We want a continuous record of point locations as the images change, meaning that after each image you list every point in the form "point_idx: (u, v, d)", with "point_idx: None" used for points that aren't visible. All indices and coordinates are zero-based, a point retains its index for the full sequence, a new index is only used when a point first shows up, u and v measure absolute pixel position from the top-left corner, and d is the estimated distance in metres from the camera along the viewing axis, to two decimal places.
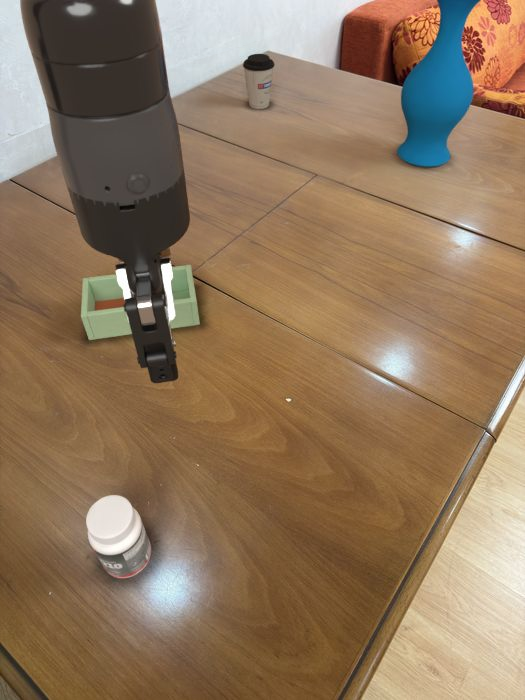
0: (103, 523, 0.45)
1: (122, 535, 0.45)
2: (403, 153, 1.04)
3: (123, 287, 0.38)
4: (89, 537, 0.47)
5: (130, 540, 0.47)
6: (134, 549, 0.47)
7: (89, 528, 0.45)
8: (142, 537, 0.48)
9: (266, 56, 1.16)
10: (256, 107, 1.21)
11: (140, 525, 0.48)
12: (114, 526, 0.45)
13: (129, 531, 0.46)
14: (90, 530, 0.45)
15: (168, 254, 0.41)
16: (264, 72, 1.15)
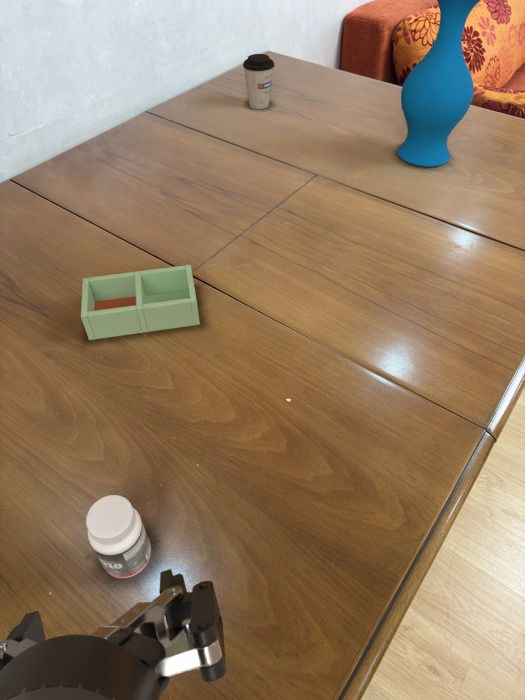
0: (103, 523, 0.45)
1: (122, 535, 0.45)
2: (403, 153, 1.04)
3: None
4: (89, 537, 0.47)
5: (130, 540, 0.47)
6: (134, 549, 0.47)
7: (89, 528, 0.45)
8: (142, 537, 0.48)
9: (266, 56, 1.16)
10: (256, 107, 1.21)
11: (140, 525, 0.48)
12: (114, 526, 0.45)
13: (129, 531, 0.46)
14: (90, 530, 0.45)
15: None
16: (264, 72, 1.15)
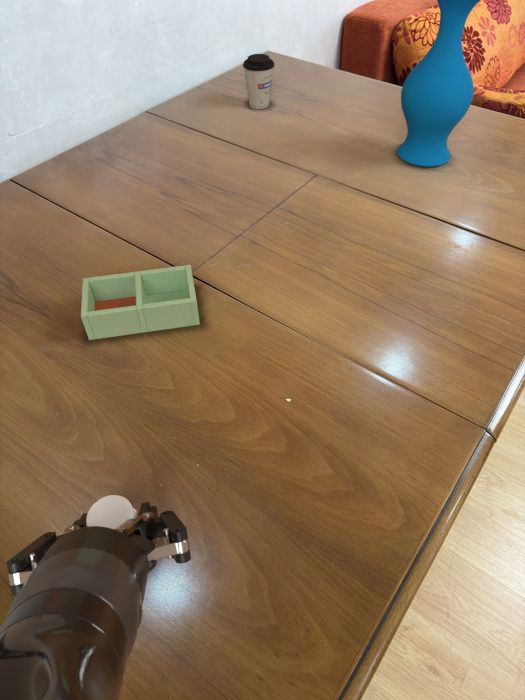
0: (103, 523, 0.45)
1: None
2: (403, 153, 1.04)
3: None
4: None
5: None
6: None
7: None
8: None
9: (266, 56, 1.16)
10: (256, 107, 1.21)
11: None
12: (114, 526, 0.45)
13: None
14: None
15: None
16: (264, 72, 1.15)
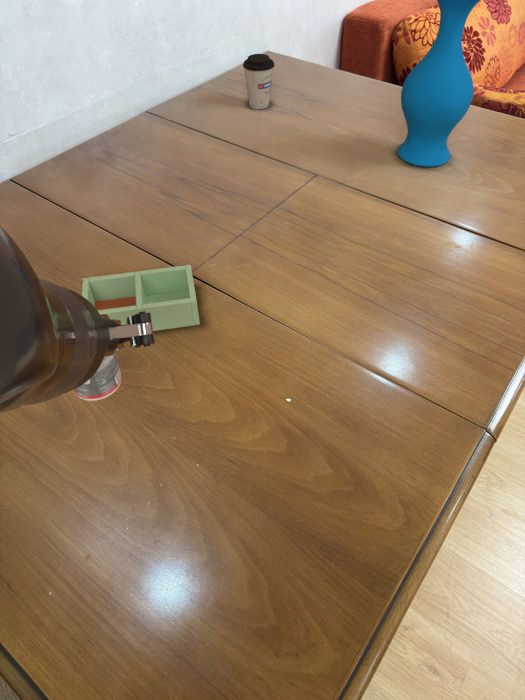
0: None
1: None
2: (403, 153, 1.04)
3: None
4: None
5: None
6: None
7: None
8: None
9: (266, 56, 1.16)
10: (256, 107, 1.21)
11: None
12: None
13: None
14: None
15: None
16: (264, 72, 1.15)
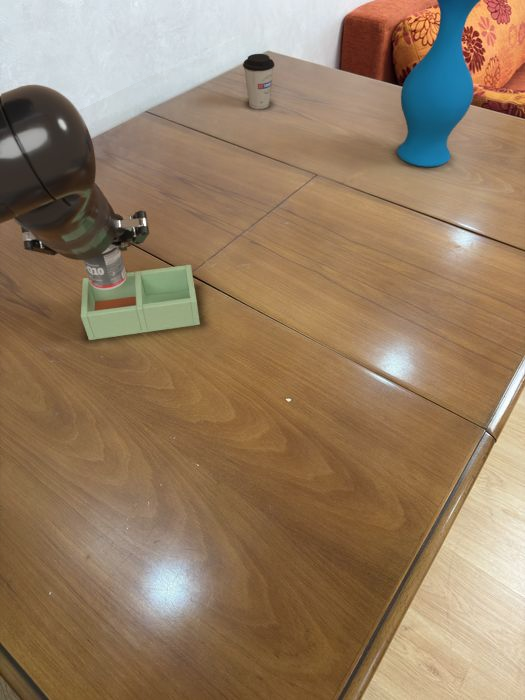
0: None
1: None
2: (403, 153, 1.04)
3: None
4: None
5: None
6: (112, 256, 0.65)
7: None
8: (118, 251, 0.66)
9: (266, 56, 1.16)
10: (256, 107, 1.21)
11: None
12: None
13: None
14: None
15: None
16: (264, 72, 1.15)
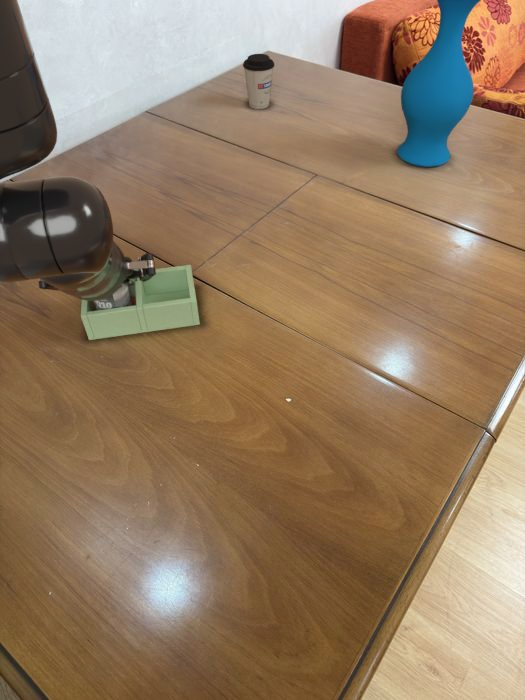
0: None
1: None
2: (403, 153, 1.04)
3: None
4: None
5: None
6: (120, 291, 0.70)
7: None
8: (125, 286, 0.70)
9: (266, 56, 1.16)
10: (256, 107, 1.21)
11: None
12: None
13: None
14: None
15: None
16: (264, 72, 1.15)
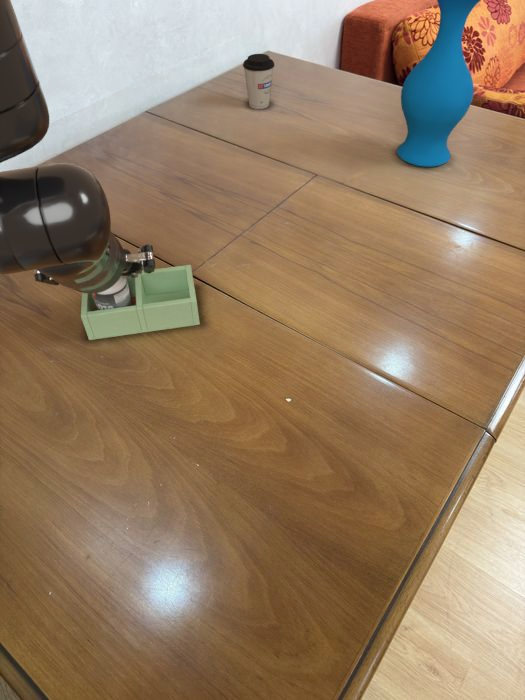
0: None
1: None
2: (403, 153, 1.04)
3: None
4: None
5: (119, 285, 0.69)
6: (121, 295, 0.70)
7: None
8: (127, 290, 0.71)
9: (266, 56, 1.16)
10: (256, 107, 1.21)
11: (125, 279, 0.70)
12: None
13: None
14: None
15: None
16: (264, 72, 1.15)
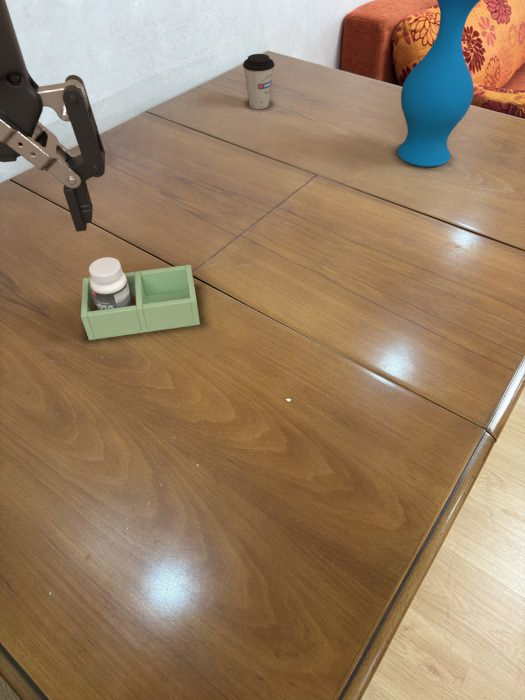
0: (100, 270, 0.68)
1: (113, 277, 0.68)
2: (403, 153, 1.04)
3: None
4: (91, 284, 0.69)
5: (119, 284, 0.69)
6: (121, 294, 0.70)
7: (91, 272, 0.68)
8: (127, 289, 0.71)
9: (266, 56, 1.16)
10: (256, 107, 1.21)
11: (125, 279, 0.70)
12: (107, 271, 0.68)
13: (118, 276, 0.68)
14: (92, 273, 0.68)
15: None
16: (264, 72, 1.15)
